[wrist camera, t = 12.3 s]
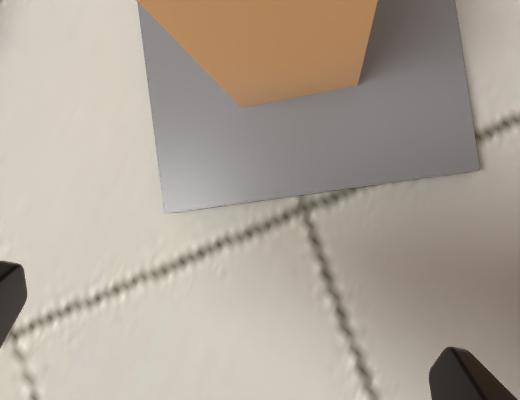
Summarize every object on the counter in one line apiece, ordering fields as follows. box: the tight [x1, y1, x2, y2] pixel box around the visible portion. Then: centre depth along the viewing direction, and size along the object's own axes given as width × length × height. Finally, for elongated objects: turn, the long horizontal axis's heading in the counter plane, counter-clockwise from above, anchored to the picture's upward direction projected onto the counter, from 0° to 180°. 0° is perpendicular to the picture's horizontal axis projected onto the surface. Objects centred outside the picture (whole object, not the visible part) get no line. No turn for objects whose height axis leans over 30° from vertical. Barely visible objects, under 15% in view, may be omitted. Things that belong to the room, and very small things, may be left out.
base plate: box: [138, 0, 480, 214], centre depth 20 cm, size 16×16×1 cm
